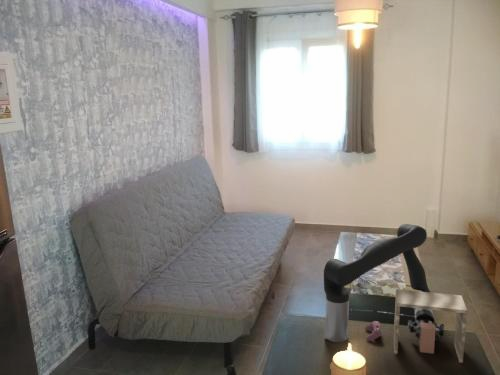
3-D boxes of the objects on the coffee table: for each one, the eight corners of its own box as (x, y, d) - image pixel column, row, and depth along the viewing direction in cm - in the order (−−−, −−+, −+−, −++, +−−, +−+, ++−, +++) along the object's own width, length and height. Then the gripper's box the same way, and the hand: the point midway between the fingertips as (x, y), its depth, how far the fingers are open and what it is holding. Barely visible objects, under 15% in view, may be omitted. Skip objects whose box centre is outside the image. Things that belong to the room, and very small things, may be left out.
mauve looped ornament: (375, 345, 184) (384, 332, 182) (365, 340, 184) (374, 327, 182) (373, 333, 193) (382, 320, 192) (364, 328, 194) (372, 315, 192)
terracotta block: (420, 351, 176) (421, 328, 174) (419, 345, 181) (420, 322, 179) (433, 353, 175) (435, 330, 173) (432, 346, 180) (434, 323, 178)
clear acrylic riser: (394, 353, 175) (396, 303, 171) (393, 336, 188) (396, 289, 183) (462, 363, 169) (467, 310, 164) (457, 344, 181) (461, 295, 177)
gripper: (406, 306, 191) (408, 326, 176) (443, 310, 187) (448, 330, 172) (405, 323, 193) (407, 343, 177) (442, 327, 189) (447, 348, 173)
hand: (427, 337), depth 174 cm, fingers open, 6 cm apart
